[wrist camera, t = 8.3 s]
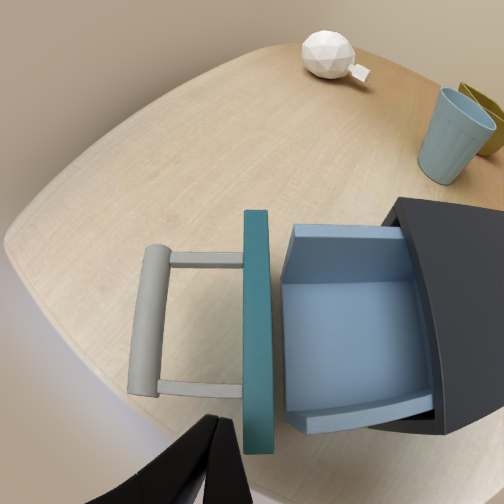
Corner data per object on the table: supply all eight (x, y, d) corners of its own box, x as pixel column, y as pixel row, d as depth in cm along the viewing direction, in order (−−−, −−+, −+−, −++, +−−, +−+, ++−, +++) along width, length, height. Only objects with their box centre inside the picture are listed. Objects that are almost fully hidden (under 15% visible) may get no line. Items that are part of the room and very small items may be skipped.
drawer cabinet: (367, 428, 16) (444, 435, 8) (351, 269, 22) (398, 196, 14) (496, 385, 16) (566, 361, 8) (472, 265, 22) (526, 215, 14)
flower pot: (478, 138, 35) (497, 102, 27) (493, 168, 31) (518, 130, 23) (442, 120, 36) (459, 80, 28) (455, 149, 32) (479, 105, 24)
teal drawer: (167, 428, 15) (120, 442, 8) (178, 270, 20) (150, 207, 14) (429, 406, 15) (499, 395, 9) (408, 269, 21) (456, 216, 14)
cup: (466, 197, 27) (507, 137, 18) (420, 186, 27) (459, 114, 18) (447, 157, 31) (477, 100, 22) (403, 144, 31) (430, 79, 22)
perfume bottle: (284, 65, 37) (351, 99, 35) (303, 18, 31) (376, 49, 29) (304, 66, 43) (361, 96, 41) (322, 27, 36) (383, 55, 34)
